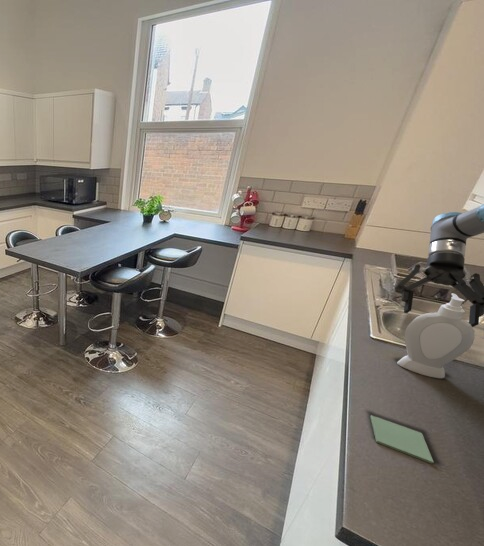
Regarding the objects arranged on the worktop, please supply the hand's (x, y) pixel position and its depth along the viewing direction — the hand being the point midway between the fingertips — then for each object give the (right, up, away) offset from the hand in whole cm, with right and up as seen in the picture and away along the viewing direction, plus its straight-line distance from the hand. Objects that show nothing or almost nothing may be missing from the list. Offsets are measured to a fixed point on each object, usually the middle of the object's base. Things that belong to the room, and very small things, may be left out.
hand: (439, 318), depth 92 cm
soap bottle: (-3, -16, +3) cm, 17 cm away
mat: (-34, -25, -21) cm, 47 cm away
